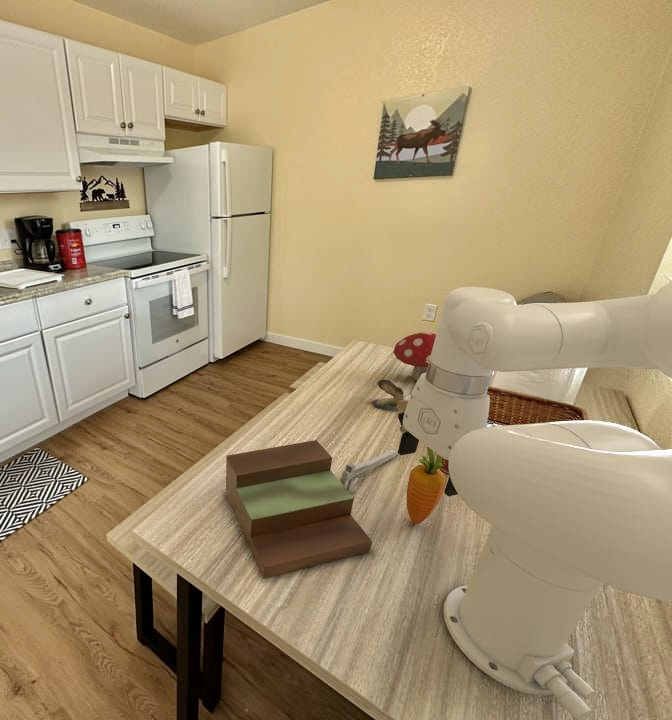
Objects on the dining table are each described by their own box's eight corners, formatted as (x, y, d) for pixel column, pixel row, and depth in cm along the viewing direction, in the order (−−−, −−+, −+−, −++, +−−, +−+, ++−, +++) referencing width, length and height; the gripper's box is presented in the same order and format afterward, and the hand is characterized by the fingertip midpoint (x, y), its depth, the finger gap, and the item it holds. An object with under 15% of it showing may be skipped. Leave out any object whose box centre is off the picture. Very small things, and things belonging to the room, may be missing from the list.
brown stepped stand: (369, 552, 61) (379, 509, 57) (263, 578, 57) (267, 534, 53) (311, 476, 77) (316, 439, 73) (225, 493, 73) (226, 455, 69)
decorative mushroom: (455, 398, 103) (470, 346, 97) (390, 389, 109) (400, 339, 103) (443, 373, 117) (456, 326, 111) (386, 366, 122) (395, 321, 116)
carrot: (430, 540, 62) (454, 466, 56) (396, 527, 65) (415, 455, 59) (431, 519, 66) (454, 448, 60) (399, 508, 69) (418, 439, 63)
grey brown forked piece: (410, 396, 102) (375, 384, 105) (420, 384, 96) (383, 372, 99) (404, 421, 99) (368, 408, 102) (414, 409, 93) (376, 396, 96)
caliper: (342, 497, 71) (347, 470, 69) (337, 494, 72) (342, 467, 70) (398, 454, 82) (404, 430, 80) (393, 451, 83) (399, 427, 81)
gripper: (391, 355, 61) (372, 443, 68) (492, 412, 46) (454, 517, 53) (431, 350, 62) (408, 436, 70) (542, 403, 47) (498, 507, 54)
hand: (428, 471), depth 61 cm, fingers open, 9 cm apart
